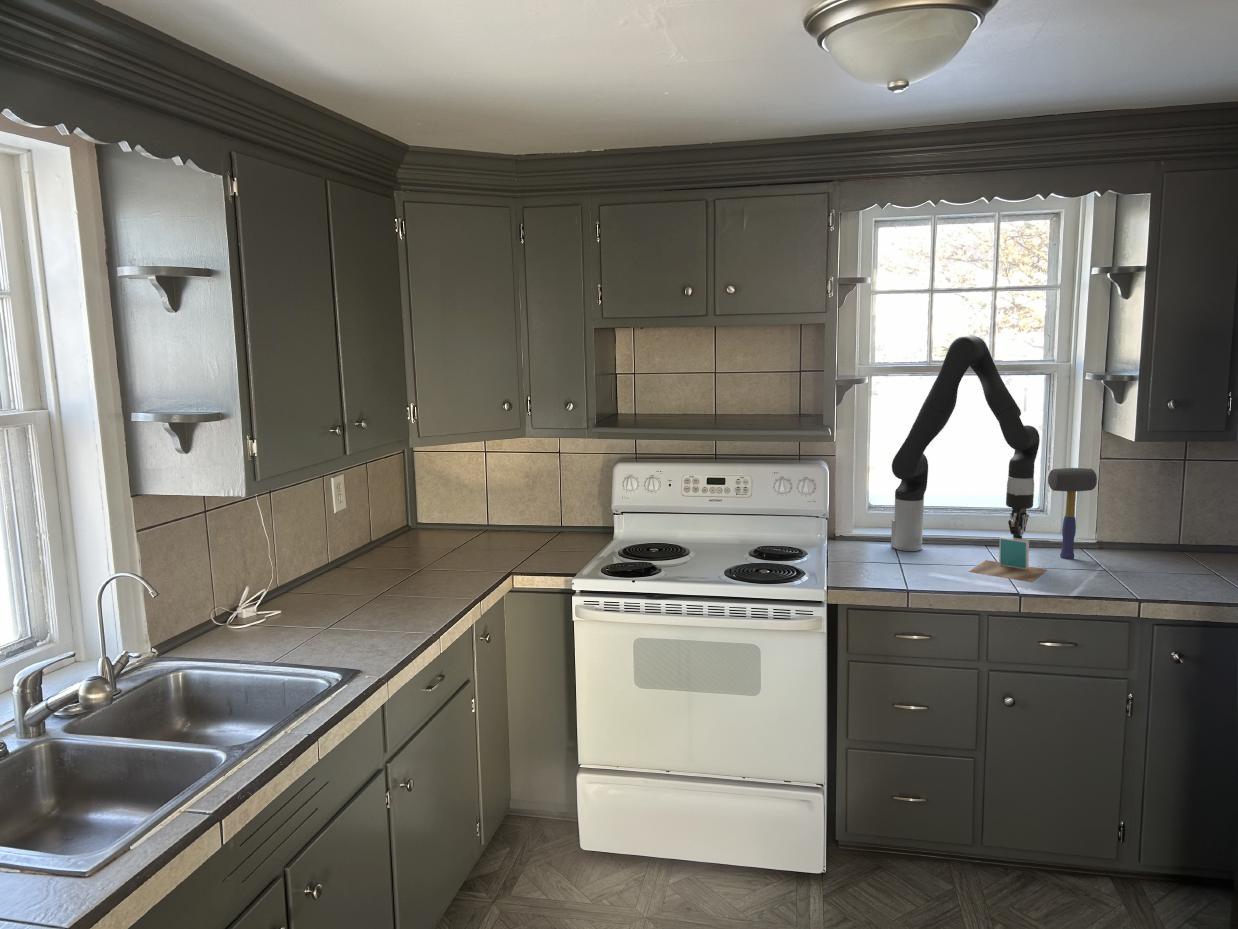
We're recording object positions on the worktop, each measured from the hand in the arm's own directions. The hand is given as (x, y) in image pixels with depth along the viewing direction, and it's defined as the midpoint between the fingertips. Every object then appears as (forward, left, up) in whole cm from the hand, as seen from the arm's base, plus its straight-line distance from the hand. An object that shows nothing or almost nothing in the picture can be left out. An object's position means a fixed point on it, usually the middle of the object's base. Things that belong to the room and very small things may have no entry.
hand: (1017, 546), depth 262 cm
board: (0, -7, -7) cm, 10 cm away
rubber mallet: (+10, +19, -7) cm, 22 cm away
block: (0, -2, -6) cm, 6 cm away
